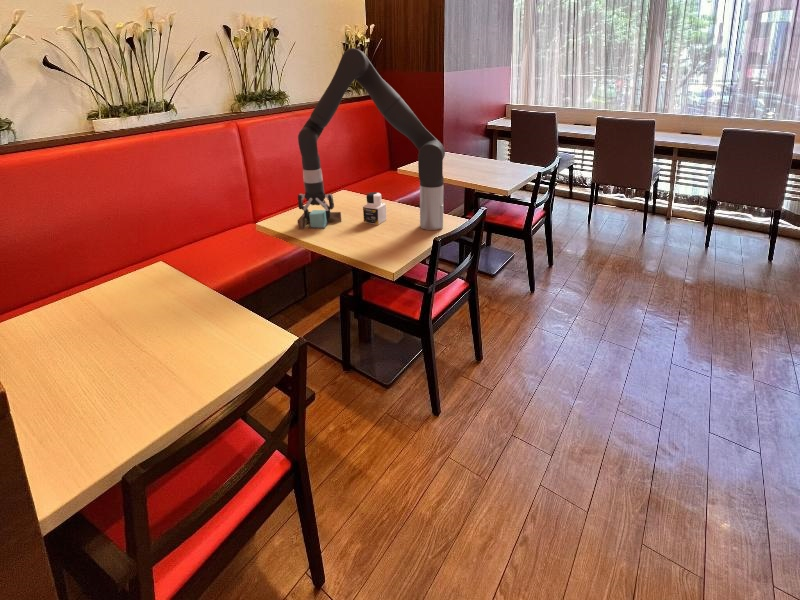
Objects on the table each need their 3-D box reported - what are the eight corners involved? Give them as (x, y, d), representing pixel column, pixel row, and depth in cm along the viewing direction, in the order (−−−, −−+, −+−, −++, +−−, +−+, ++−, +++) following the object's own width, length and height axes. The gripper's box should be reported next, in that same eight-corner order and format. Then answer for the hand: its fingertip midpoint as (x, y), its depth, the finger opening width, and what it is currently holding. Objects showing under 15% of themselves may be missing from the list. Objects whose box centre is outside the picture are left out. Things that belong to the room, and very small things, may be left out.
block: (327, 222, 204) (325, 210, 201) (323, 227, 199) (322, 214, 196) (314, 222, 204) (312, 210, 202) (310, 227, 199) (309, 214, 197)
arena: (341, 221, 206) (340, 211, 204) (335, 230, 196) (334, 220, 194) (306, 220, 207) (304, 211, 205) (298, 229, 198) (297, 220, 196)
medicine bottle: (363, 222, 203) (361, 194, 197) (372, 217, 208) (370, 190, 203) (378, 225, 200) (376, 196, 194) (386, 219, 205) (385, 192, 200)
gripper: (332, 177, 195) (336, 215, 203) (298, 177, 196) (303, 215, 204) (328, 182, 188) (332, 222, 196) (293, 182, 190) (298, 221, 198)
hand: (317, 218), depth 200 cm, fingers open, 8 cm apart
